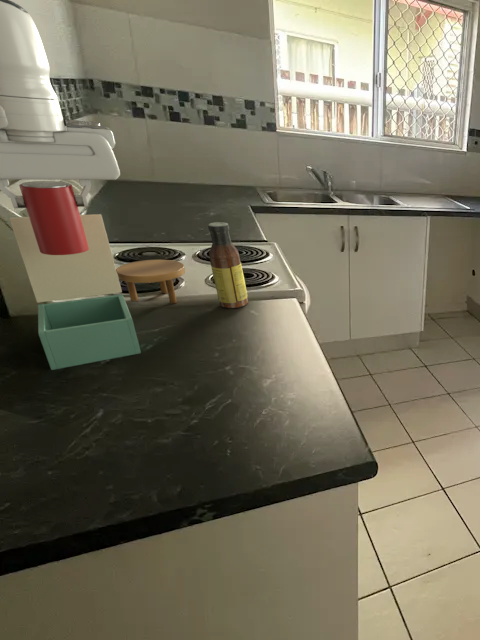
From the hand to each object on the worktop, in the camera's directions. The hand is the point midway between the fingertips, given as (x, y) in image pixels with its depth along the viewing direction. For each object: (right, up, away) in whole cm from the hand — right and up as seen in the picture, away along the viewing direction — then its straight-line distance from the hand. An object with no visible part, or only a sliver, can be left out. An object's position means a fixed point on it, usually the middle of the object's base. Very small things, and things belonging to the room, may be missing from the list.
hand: (52, 207), depth 80 cm
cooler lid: (-6, -7, +10) cm, 14 cm away
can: (-1, -7, +3) cm, 7 cm away
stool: (-8, -13, +35) cm, 38 cm away
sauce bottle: (+10, -14, +36) cm, 40 cm away
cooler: (-3, -24, +11) cm, 27 cm away
